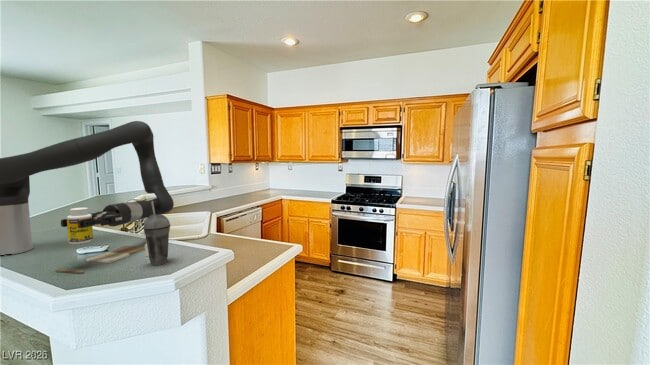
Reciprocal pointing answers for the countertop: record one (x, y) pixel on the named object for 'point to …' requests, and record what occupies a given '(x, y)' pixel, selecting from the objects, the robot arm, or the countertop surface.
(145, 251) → the die
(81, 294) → the countertop surface
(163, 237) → the beverage cup
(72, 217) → the supplement bottle
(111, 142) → the robot arm
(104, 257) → the game track
